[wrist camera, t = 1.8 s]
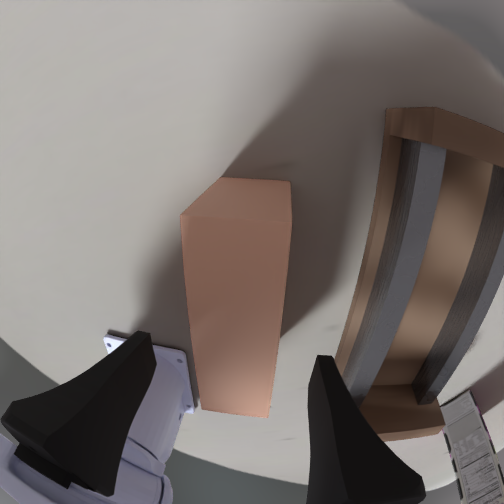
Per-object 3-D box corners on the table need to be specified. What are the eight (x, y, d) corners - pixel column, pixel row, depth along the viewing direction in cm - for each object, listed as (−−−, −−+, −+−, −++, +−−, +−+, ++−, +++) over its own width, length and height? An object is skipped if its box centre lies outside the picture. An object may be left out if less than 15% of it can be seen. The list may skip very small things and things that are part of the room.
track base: (421, 384, 22) (437, 434, 17) (324, 386, 23) (328, 444, 18) (508, 148, 13) (567, 168, 7) (386, 108, 14) (434, 106, 8)
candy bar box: (481, 415, 25) (509, 509, 11) (451, 433, 27) (473, 528, 12) (471, 385, 22) (512, 507, 8) (434, 408, 24) (462, 532, 10)
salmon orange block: (275, 341, 22) (268, 417, 15) (223, 335, 22) (201, 409, 16) (290, 181, 16) (292, 222, 10) (220, 176, 17) (180, 215, 10)
